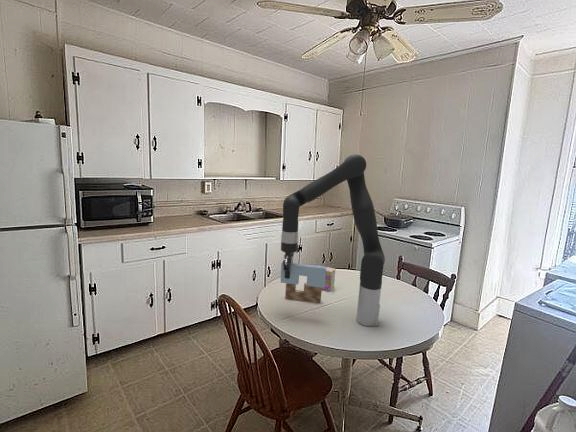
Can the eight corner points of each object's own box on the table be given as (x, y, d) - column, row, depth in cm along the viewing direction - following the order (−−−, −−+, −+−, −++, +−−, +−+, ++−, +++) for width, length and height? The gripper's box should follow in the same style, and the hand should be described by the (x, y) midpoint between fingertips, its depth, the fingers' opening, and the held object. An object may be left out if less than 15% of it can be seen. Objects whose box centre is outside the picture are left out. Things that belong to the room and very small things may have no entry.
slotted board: (320, 301, 158) (322, 285, 156) (320, 303, 156) (321, 286, 154) (285, 296, 161) (286, 280, 159) (285, 298, 159) (286, 282, 157)
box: (312, 287, 174) (314, 267, 172) (316, 284, 179) (318, 264, 177) (330, 292, 169) (332, 271, 167) (334, 288, 174) (335, 268, 172)
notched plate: (324, 285, 141) (326, 266, 139) (324, 287, 139) (325, 268, 137) (281, 280, 145) (282, 262, 143) (280, 282, 142) (281, 263, 140)
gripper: (295, 245, 132) (293, 284, 135) (300, 237, 145) (298, 272, 148) (277, 243, 133) (276, 281, 136) (284, 236, 146) (282, 270, 150)
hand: (287, 276), depth 142 cm, fingers closed on notched plate, 2 cm apart
